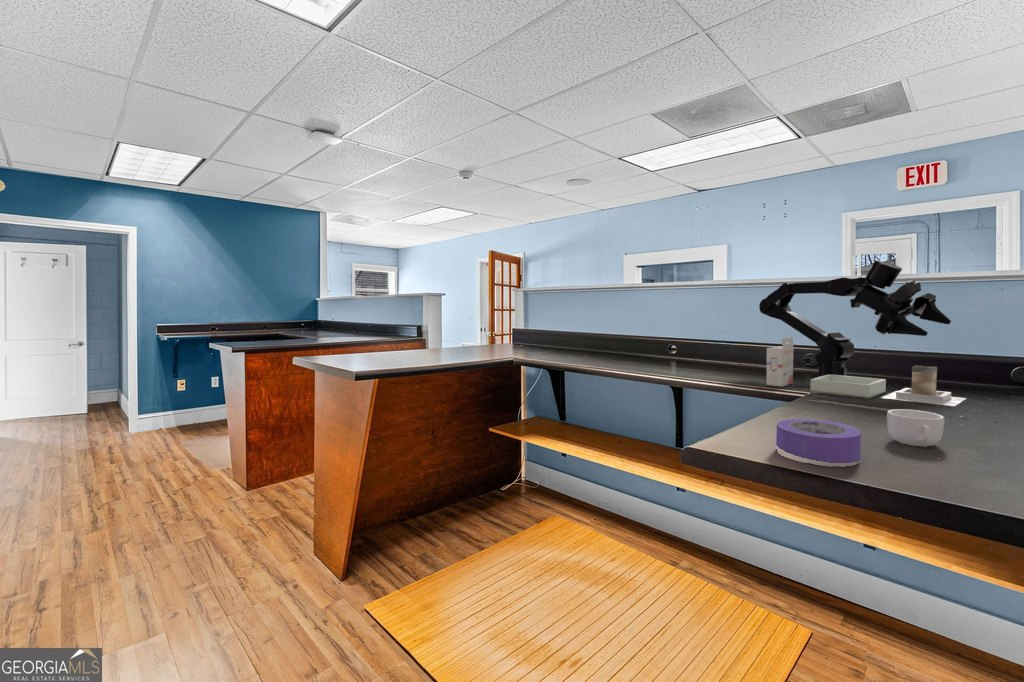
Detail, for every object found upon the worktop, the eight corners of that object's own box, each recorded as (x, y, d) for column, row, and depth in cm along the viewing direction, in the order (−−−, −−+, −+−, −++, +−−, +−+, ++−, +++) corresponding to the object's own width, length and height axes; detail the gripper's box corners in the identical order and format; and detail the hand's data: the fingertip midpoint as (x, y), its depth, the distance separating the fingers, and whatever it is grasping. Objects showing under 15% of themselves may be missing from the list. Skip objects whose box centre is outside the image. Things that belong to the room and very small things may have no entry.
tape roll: (843, 474, 69) (844, 441, 69) (763, 454, 79) (763, 425, 78) (871, 457, 76) (872, 427, 76) (794, 442, 86) (795, 415, 85)
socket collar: (880, 399, 120) (881, 391, 120) (896, 393, 128) (896, 385, 128) (954, 408, 109) (955, 399, 108) (966, 400, 117) (967, 392, 117)
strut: (910, 397, 119) (912, 366, 118) (915, 395, 121) (916, 365, 121) (932, 400, 116) (933, 368, 115) (935, 398, 118) (937, 366, 117)
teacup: (880, 436, 88) (881, 408, 88) (932, 440, 85) (933, 411, 85) (898, 451, 79) (899, 420, 79) (957, 456, 76) (958, 423, 75)
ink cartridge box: (776, 381, 150) (777, 336, 149) (793, 383, 147) (794, 337, 145) (765, 385, 145) (766, 338, 144) (782, 386, 141) (783, 338, 140)
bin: (810, 393, 130) (810, 379, 130) (828, 387, 138) (828, 374, 138) (869, 400, 119) (869, 385, 119) (885, 393, 128) (885, 379, 127)
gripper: (866, 288, 128) (927, 315, 116) (913, 267, 133) (976, 291, 121) (853, 320, 135) (909, 349, 123) (898, 299, 140) (956, 325, 128)
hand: (938, 328), depth 124 cm, fingers open, 9 cm apart
